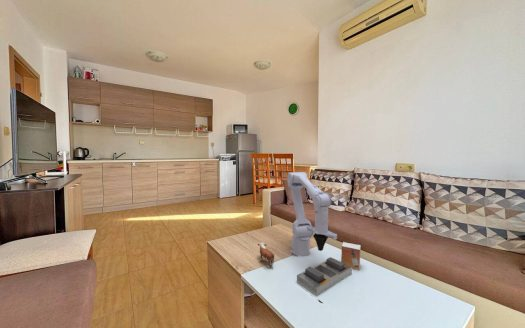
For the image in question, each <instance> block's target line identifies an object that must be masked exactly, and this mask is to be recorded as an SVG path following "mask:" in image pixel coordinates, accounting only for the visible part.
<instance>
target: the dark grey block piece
mask: <svg viewBox="0 0 525 328" xmlns="http://www.w3.org/2000/svg"><path fill="white" fill-rule="evenodd" d="M304 271H305V275H306V276H307V277H309V278H311V279H312V280H314V281H315V282H317V283H319V284H320V283H321V282H323V281H324V274H322V273H320V272H319V271H317V270H315V269H313V268H312V267H311V266H308V267H306V268H305V269H304Z"/></svg>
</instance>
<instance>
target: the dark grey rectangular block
mask: <svg viewBox="0 0 525 328" xmlns="http://www.w3.org/2000/svg"><path fill="white" fill-rule="evenodd" d="M325 261H326V264H327V265H329V266H330V267H332V268H334V269H336V270H338V271H340V272H341V271H343V270H344V263H342V262H341V260H338V259H336V258H334V259H333V257H328V258H326V260H325Z"/></svg>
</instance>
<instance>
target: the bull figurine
mask: <svg viewBox="0 0 525 328" xmlns="http://www.w3.org/2000/svg"><path fill="white" fill-rule="evenodd" d="M257 246H259V253H260V255H259V256H260V259H259V262H261V261H263V258H264V261H265V262H266V261H267V269H270V266H271V265H274V263H275V253H274V252H272V251H271V250H270V249H269V248H267V243H264V242H260V243H257Z"/></svg>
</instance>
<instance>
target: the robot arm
mask: <svg viewBox="0 0 525 328" xmlns="http://www.w3.org/2000/svg"><path fill="white" fill-rule="evenodd" d="M286 182H287V187H288V189H290V193H291V197H292V203H293V209H294V213H295V220H294V221H293V223H292V224H291V225H292V234H293V236H292V237H291V240H290V242H291V244H290V249H291V250H290V251H289V252H290V253H291V254H293V255H294V256H297V257H298V256H301V257H307V256H309V255H310V250H311V249H310V245H311V244H310V242H311V241H310V240H311V239H312V237H313V239H314V240H315V242H316V243H315V244H316V247H317V250H318V251H320V252H322V251H323V250H324V248H325V245H326V243H327V240H328V239H329V238H330V239H332V240H333V241H335V240H337V239H338V234H337V233H334V232H332V231H330V230H329V229H328V228H329V226H328V225H329V207H331V205H332V201H333V200H332V197H331V196H330V194H329V193H325V192H323V191H322V190H321V189H320V188H319V186H318V185H317V184H312V183H311V181H310V180H309V179H308V174H307V172H305V171H303V172H302V171H296V172H290V171H289V172H288V174H287V176H286ZM303 188H305V189H306V194H307V195H308V196H309V197H310V199H311V200H312V205H313V210H314V225H312V223H311V221H310V220H309V219H307V218H306V213H305V208H304V202H303V198H302V193H301V189H303Z"/></svg>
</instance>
